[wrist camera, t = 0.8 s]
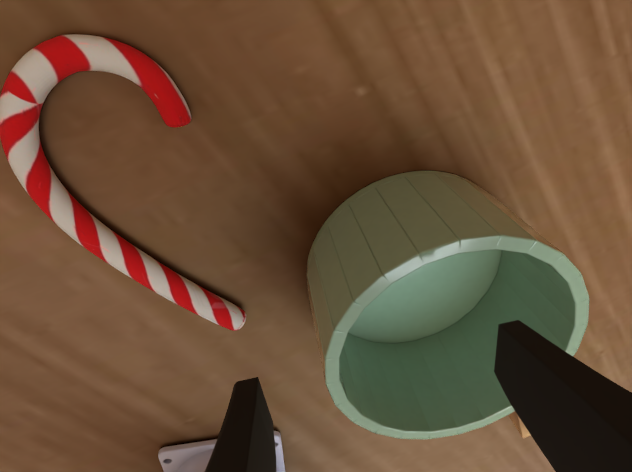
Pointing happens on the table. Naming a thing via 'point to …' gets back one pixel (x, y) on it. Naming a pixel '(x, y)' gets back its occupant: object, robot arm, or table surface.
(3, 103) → the candy cane
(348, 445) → the table surface
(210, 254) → the table surface
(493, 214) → the green round bowl
